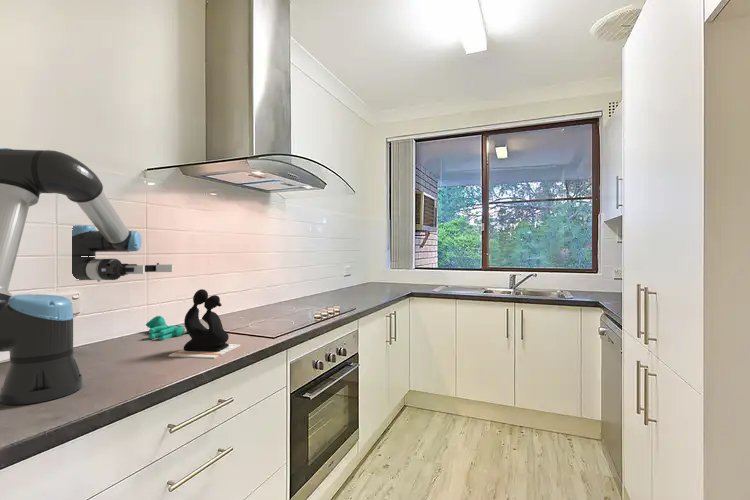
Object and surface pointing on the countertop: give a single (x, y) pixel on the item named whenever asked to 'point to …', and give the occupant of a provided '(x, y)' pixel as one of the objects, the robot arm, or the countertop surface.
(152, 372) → the countertop surface
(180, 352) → the mat
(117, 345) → the countertop surface
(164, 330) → the toy
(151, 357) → the countertop surface
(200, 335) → the figurine
